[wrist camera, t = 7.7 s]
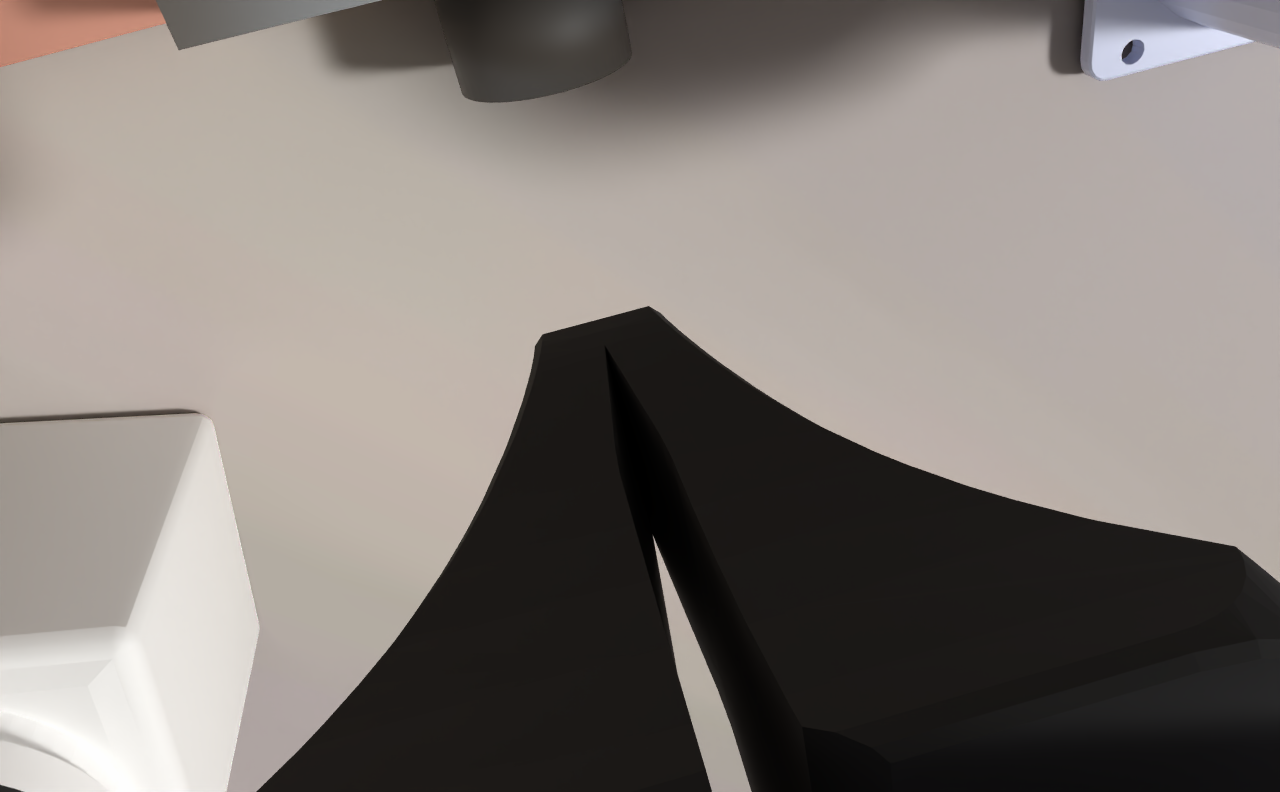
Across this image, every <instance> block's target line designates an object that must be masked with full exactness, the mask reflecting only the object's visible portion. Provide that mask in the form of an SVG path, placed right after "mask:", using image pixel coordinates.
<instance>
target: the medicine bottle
mask: <svg viewBox="0 0 1280 792" xmlns="http://www.w3.org/2000/svg"><path fill="white" fill-rule="evenodd" d="M259 629H260V626H259V621H258V617H257V613H256V608H255V604H254V599H253V595H252V591H251V586H250V582H249V577H248V573H247V569H246V564H245V560H244V555H243V551H242V547H241V542H240V538H239V534H238V529H237V525H236V520H235V516H234V512H233V507H232V503H231V498H230V494H229V490H228V485H227V481H226V476H225V472H224V468H223V463H222V459H221V454H220V450H219V446H218V441H217V437H216V433H215V428H214V424H213V422H212V421H211V419H210V418H209V417H207V416H206V415H204V414H198V413H190V414H170V415H151V416H132V417H113V418H93V419H74V420H55V421H36V422H16V423H0V792H226V791H227V786H228V781H229V776H230V772H231V767H232V762H233V757H234V752H235V747H236V742H237V737H238V733H239V728H240V723H241V718H242V713H243V708H244V703H245V698H246V693H247V689H248V684H249V679H250V674H251V669H252V664H253V659H254V654H255V649H256V645H257V640H258V635H259Z"/></svg>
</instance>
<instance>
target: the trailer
mask: <svg viewBox="0 0 1280 792" xmlns="http://www.w3.org/2000/svg"><path fill="white" fill-rule="evenodd" d="M376 1H380V0H156V2H157V4H158V6H159V9H160V11H161V13H162V15H163V17H164V19H165V22H166V24H167V26H168V28H169V30H170V32H171V34H172V37H173V39H174V41H175V43H176V45H177V47H178V50H181V49H185V48H189V47H194V46H198V45H202V44H206V43H210V42H214V41H218V40H222V39H226V38H230V37H234V36H238V35H242V34H246V33H250V32H254V31H258V30H263V29H267V28H271V27H275V26H279V25H283V24H287V23H291V22H295V21H299V20H303V19H307V18H311V17H315V16H319V15H323V14H327V13H332V12H336V11H340V10H344V9H348V8H352V7H356V6H360V5H364V4H368V3H372V2H376ZM434 2H435V5H436V9H437V12H438V15H439V18H440V22H441V25H442V28H443V32H444V35H445V38H446V42H447V45H448V48H449V52H450V55H451V58H452V62H453V65H454V68H455V72H456V75H457V78H458V81H459V85H460V88H461V91H462V94H463V96H465V97H466V98H468V99H470V100H473V101H479V102H512V101H521V100H528V99H534V98H539V97H544V96H548V95H552V94H557V93H560V92H564V91H568V90H571V89H574V88H577V87H580V86H583V85H586V84H589V83H591V82H594V81H596V80H598V79H601V78H603V77H605V76H607V75H609V74H611V73H613V72H614V71H616V70H618V69H619V68H621V67H622V66H623V65H624V64H626V63H627V62H628V60H629V59H630V57H631V55H632V51H631V46H630V41H629V35H628V30H627V25H626V20H625V14H624V9H623V4H622V0H434Z"/></svg>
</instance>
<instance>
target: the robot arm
mask: <svg viewBox="0 0 1280 792" xmlns="http://www.w3.org/2000/svg"><path fill="white" fill-rule="evenodd" d="M1130 41H1133V47H1132V50H1131V52H1130V53H1129V54H1128V56H1127V57H1126V58H1124V59H1122V56H1121V55H1122V52H1123V48H1124V47H1125V46H1126V45H1127V44H1128V43H1129V42H1130ZM1252 42H1259V43H1263V44H1266V45H1270V46H1273V47H1276V48H1280V0H1085V5H1084V18H1083V31H1082V44H1081V57H1080V62H1081V68H1082V70H1083V71H1084V73H1085V74H1086V75H1088V76H1090V77H1093V78H1095V79H1097V80H1100V81H1101V80H1110V79H1114V78H1118V77H1122V76H1126V75H1129V74H1133V73H1137V72H1141V71H1145V70H1149V69H1152V68H1156V67H1160V66H1164V65H1168V64H1172V63H1175V62H1179V61H1183V60H1187V59H1191V58H1195V57H1198V56H1202V55H1206V54H1210V53H1214V52H1217V51H1221V50H1225V49H1229V48H1233V47H1237V46H1240V45H1244V44H1248V43H1252ZM653 536H654V539H655V541H656V543H657V546H658V548H659V551H660V553H661V556H662V558H663V560H664V563H665V565H666V568H667V570H668V572H669V575H670V577H671V579H672V582H673V584H674V587H675V589H676V591H677V594H678V596H679V599H680V601H681V603H682V606H683V608H684V610H685V613H686V615H687V618H688V620H689V622H690V625H691V627H692V629H693V632H694V634H695V637H696V639H697V641H698V644H699V646H700V648H701V651H702V653H703V656H704V658H705V660H706V663H707V665H708V668H709V670H710V672H711V675H712V677H713V679H714V682H715V684H716V687H717V689H718V691H719V694H720V697H721V700H722V702H723V705H724V708H725V710H726V713H727V716H728V718H729V721H730V724H731V727H732V730H733V733H734V736H735V739H736V742H737V746H738V749H739V752H740V755H741V758H742V762H743V765H744V768H745V771H746V775H747V778H748V781H749V784H750V787H751V791H752V792H1280V583H1279V582H1278V581H1277V580H1276V579H1274V578H1273V577H1272V576H1271V575H1270V574H1268V573H1267V572H1266V571H1265V570H1264V569H1262V568H1261V567H1260V566H1259V565H1258V564H1256V563H1255V562H1254V561H1253V560H1251V559H1250V558H1249V557H1248V556H1246V555H1245V554H1244V553H1243V552H1241V551H1240V550H1239V549H1238V548H1237V547H1235V546H1229V545H1224V544H1219V543H1213V542H1208V541H1203V540H1197V539H1192V538H1187V537H1181V536H1176V535H1170V534H1165V533H1160V532H1154V531H1149V530H1144V529H1138V528H1133V527H1128V526H1122V525H1117V524H1111V523H1106V522H1101V521H1096V520H1092V519H1087V518H1083V517H1079V516H1075V515H1071V514H1067V513H1063V512H1059V511H1055V510H1051V509H1048V508H1044V507H1040V506H1036V505H1032V504H1028V503H1024V502H1020V501H1016V500H1013V499H1009V498H1006V497H1002V496H999V495H996V494H992V493H989V492H986V491H982V490H979V489H976V488H972V487H969V486H966V485H963V484H960V483H957V482H954V481H952V480H949V479H946V478H943V477H940V476H937V475H935V474H932V473H929V472H926V471H923V470H921V469H918V468H915V467H912V466H909V465H906V464H904V463H901V462H899V461H896V460H894V459H891V458H889V457H886V456H884V455H881V454H879V453H877V452H874V451H872V450H870V449H868V448H866V447H863V446H861V445H859V444H857V443H855V442H853V441H850V440H848V439H846V438H844V437H842V436H840V435H837V434H835V433H833V432H831V431H829V430H827V429H825V428H823V427H821V426H819V425H817V424H815V423H813V422H812V421H810V420H808V419H806V418H804V417H803V416H801V415H799V414H798V413H796V412H794V411H792V410H791V409H789V408H787V407H786V406H784V405H782V404H781V403H779V402H777V401H776V400H774V399H772V398H771V397H769V396H768V395H766V394H765V393H763V392H762V391H760V390H758V389H757V388H755V387H754V386H752V385H751V384H750V383H748V382H747V381H745V380H744V379H742V378H741V377H740V376H738V375H737V374H735V373H734V372H732V371H731V370H730V369H728V368H727V367H725V366H724V365H722V364H721V363H720V362H718V361H717V360H716V359H714V358H713V357H712V356H710V355H709V354H708V353H706V352H705V351H704V350H703V349H701V348H700V347H699V346H698V345H696V344H695V343H694V342H693V341H691V340H690V339H689V338H688V337H687V336H685V335H684V334H683V333H682V332H681V331H679V330H678V329H677V328H676V327H675V326H674V325H673V324H671V323H670V322H669V321H668V320H667V319H666V318H665V317H664V316H663V315H662V314H661V313H659V312H658V311H656V310H654V309H653V308H651V307H649V306H647V307H644V308H640V309H636V310H632V311H629V312H625V313H621V314H617V315H614V316H610V317H606V318H602V319H599V320H595V321H591V322H587V323H584V324H580V325H576V326H572V327H569V328H565V329H561V330H557V331H554V332H550V333H546V334H543V335H542V336H541V338H540V339H539V341H538V342H537V344H536V345H535V352H534V359H533V364H532V369H531V373H530V377H529V381H528V384H527V388H526V391H525V395H524V398H523V402H522V405H521V407H520V410H519V413H518V416H517V419H516V422H515V424H514V427H513V430H512V433H511V436H510V439H509V441H508V444H507V447H506V449H505V452H504V454H503V456H502V458H501V461H500V463H499V465H498V467H497V470H496V472H495V474H494V476H493V478H492V481H491V483H490V485H489V487H488V490H487V492H486V494H485V496H484V499H483V501H482V503H481V505H480V507H479V509H478V511H477V512H476V514H475V516H474V518H473V520H472V522H471V524H470V526H469V528H468V529H467V531H466V533H465V535H464V537H463V539H462V540H461V542H460V544H459V545H458V547H457V549H456V550H455V552H454V554H453V556H452V557H451V559H450V561H449V562H448V564H447V566H446V567H445V569H444V570H443V572H442V574H441V575H440V577H439V578H438V580H437V581H436V583H435V584H434V586H433V587H432V589H431V590H430V592H429V593H428V594H427V596H426V597H425V599H424V600H423V602H422V603H421V605H420V606H419V608H418V609H417V611H416V612H415V614H414V615H413V617H412V618H411V619H410V621H409V622H408V623H407V625H406V626H405V628H404V629H403V630H402V632H401V633H400V635H399V636H398V637H397V639H396V640H395V641H394V643H393V644H392V645H391V646H390V648H389V649H388V650H387V651H386V653H385V654H384V655H383V656H382V657H381V659H380V660H379V661H378V662H377V663H376V665H375V666H374V667H373V668H372V669H371V671H370V672H369V673H368V674H367V675H366V677H365V678H364V679H363V680H362V681H361V683H360V684H359V685H358V686H357V687H356V688H355V690H354V691H353V692H352V693H351V694H350V695H349V696H348V697H347V699H346V700H345V701H344V702H343V703H342V704H341V705H340V706H339V707H338V709H337V710H336V711H335V712H334V713H333V714H332V715H331V716H330V718H329V719H328V720H327V721H326V722H325V723H324V724H323V725H322V726H321V727H320V729H319V730H318V731H317V732H316V733H315V734H314V735H313V736H312V737H311V738H310V739H309V740H308V741H307V742H306V743H305V744H304V745H303V746H302V748H301V749H300V750H299V751H298V752H297V753H296V754H295V755H294V756H293V757H291V758H290V759H289V760H288V761H287V762H286V763H285V764H284V765H283V766H282V767H281V768H280V769H279V770H278V771H277V772H276V773H275V774H274V775H273V776H272V777H271V778H270V779H269V780H268V781H267V782H266V783H265V784H264V785H263V786H262V787H261V788H260V789H259V790H258V791H257V792H712V790H711V787H710V783H709V780H708V776H707V773H706V769H705V766H704V762H703V759H702V756H701V752H700V749H699V746H698V742H697V739H696V735H695V732H694V729H693V725H692V722H691V719H690V715H689V712H688V708H687V705H686V701H685V698H684V695H683V691H682V688H681V684H680V681H679V678H678V674H677V669H676V663H675V658H674V652H673V646H672V641H671V635H670V629H669V624H668V618H667V612H666V607H665V601H664V596H663V590H662V584H661V579H660V573H659V567H658V562H657V556H656V551H655V545H654V539H653Z"/></svg>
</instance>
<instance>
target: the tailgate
mask: <svg viewBox="0 0 1280 792" xmlns="http://www.w3.org/2000/svg"><path fill="white" fill-rule="evenodd" d="M165 23H166V22H165V19H164V17H163V15H162V13H161V11H160V9H159V6H158V4H157V2H156V0H0V67H2V66H6V65H10V64H14V63H17V62H21V61H25V60H29V59H32V58H36V57H40V56H44V55H48V54H51V53H55V52H59V51H63V50H66V49H70V48H74V47H78V46H82V45H85V44H89V43H93V42H97V41H100V40H104V39H108V38H112V37H116V36H119V35H123V34H127V33H131V32H134V31H138V30H142V29H146V28H150V27H153V26H157V25H161V24H165Z"/></svg>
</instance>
